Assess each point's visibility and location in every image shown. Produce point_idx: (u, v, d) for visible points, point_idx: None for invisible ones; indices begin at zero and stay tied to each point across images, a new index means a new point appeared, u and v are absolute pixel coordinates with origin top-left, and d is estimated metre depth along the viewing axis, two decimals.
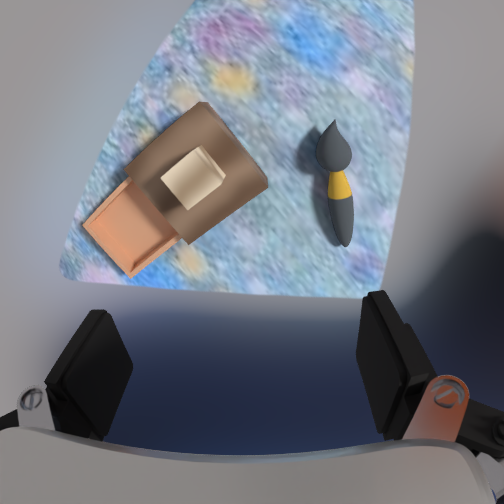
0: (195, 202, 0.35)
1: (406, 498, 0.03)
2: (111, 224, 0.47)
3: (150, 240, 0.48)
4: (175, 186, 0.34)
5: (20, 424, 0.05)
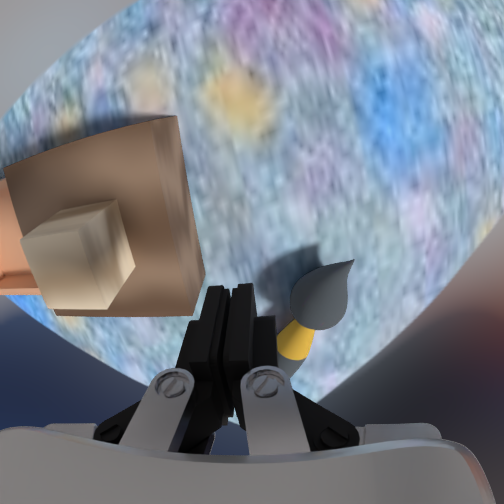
0: (61, 306, 0.16)
1: (406, 498, 0.03)
2: None
3: (25, 262, 0.27)
4: (37, 267, 0.15)
5: (140, 405, 0.06)
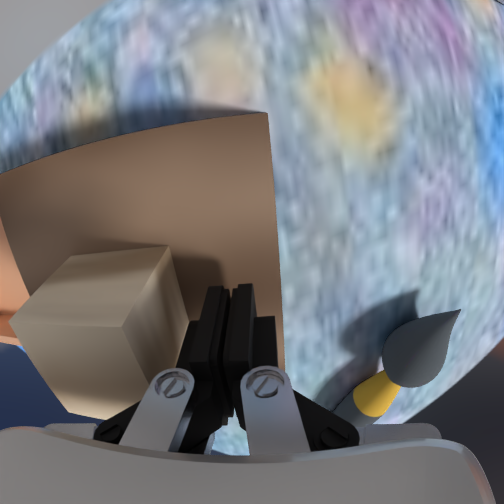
0: (90, 414, 0.10)
1: (406, 498, 0.03)
2: None
3: None
4: (45, 364, 0.09)
5: (140, 405, 0.06)
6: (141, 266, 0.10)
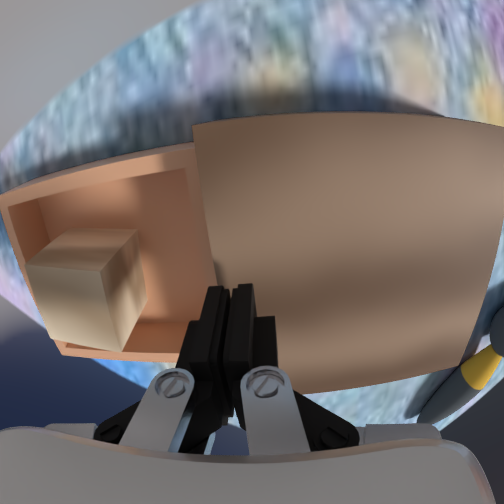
0: None
1: (406, 498, 0.03)
2: (61, 224, 0.17)
3: None
4: None
5: (140, 405, 0.06)
6: (47, 251, 0.14)
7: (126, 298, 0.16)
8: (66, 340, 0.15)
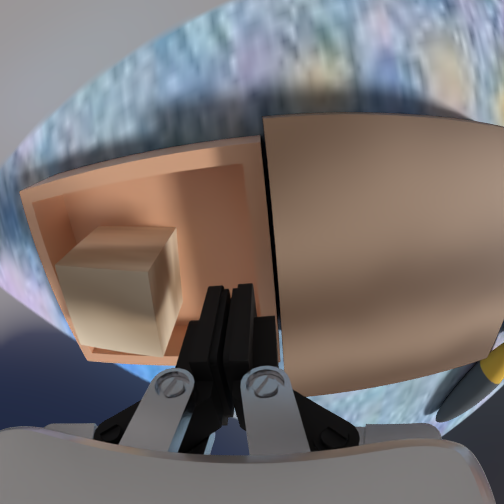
0: None
1: (406, 498, 0.03)
2: (89, 222, 0.17)
3: None
4: None
5: (140, 405, 0.06)
6: (79, 250, 0.14)
7: (167, 299, 0.15)
8: (98, 346, 0.14)
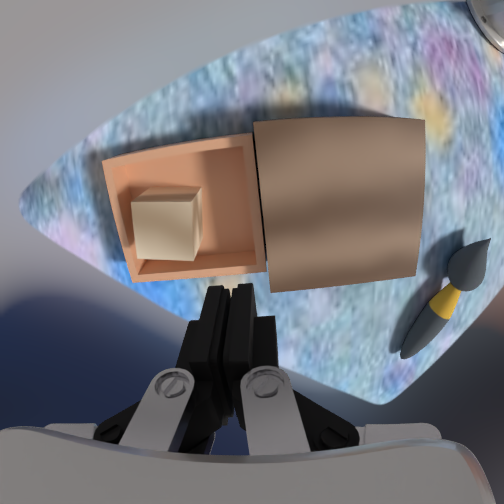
0: None
1: (406, 498, 0.03)
2: (143, 184, 0.27)
3: None
4: None
5: (140, 405, 0.06)
6: (144, 196, 0.24)
7: (197, 227, 0.26)
8: (150, 258, 0.25)
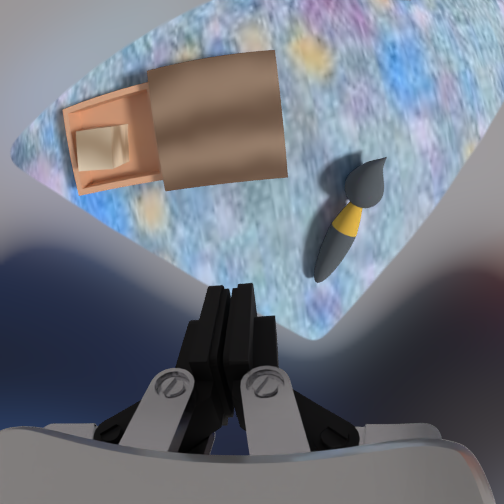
0: None
1: (406, 498, 0.03)
2: (91, 126, 0.34)
3: (122, 165, 0.37)
4: None
5: (140, 405, 0.06)
6: (86, 129, 0.31)
7: (119, 148, 0.33)
8: (86, 169, 0.32)
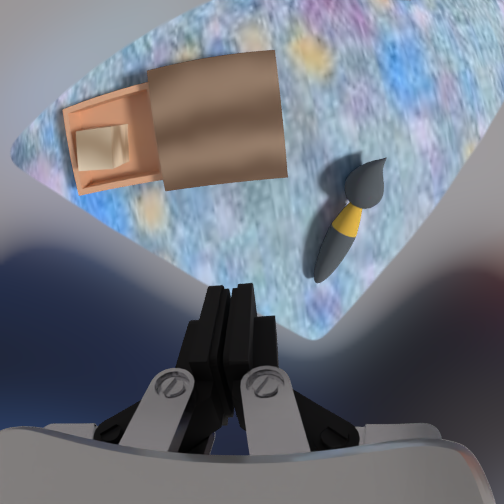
0: None
1: (406, 498, 0.03)
2: (91, 126, 0.34)
3: (122, 165, 0.37)
4: None
5: (140, 405, 0.06)
6: (86, 129, 0.31)
7: (119, 148, 0.33)
8: (86, 169, 0.32)
